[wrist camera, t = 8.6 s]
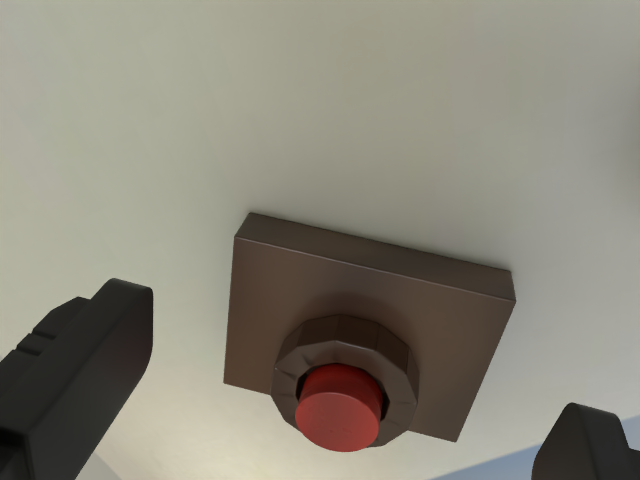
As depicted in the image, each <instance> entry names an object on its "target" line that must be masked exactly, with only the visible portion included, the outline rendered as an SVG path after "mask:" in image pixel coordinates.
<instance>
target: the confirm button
mask: <svg viewBox="0 0 640 480" xmlns="http://www.w3.org/2000/svg"><path fill="white" fill-rule="evenodd" d="M382 402H383V395H382V391H381V388H380V386H379V385H378V383H377V382H376V381H375V379H374V378H373V377H371V376H370V375H369V374H368V373H366V372H365V371H363V370H361V369H359V368H356V367H354V366H350V365H346V364H328V365H323V366H321V367H318V368H316V369H315V370H313V371H312V372H311V373H310V374H309V375H308V376H307V378H306V380H305V382H304V385H303V389H302V392H301V396H300V399H299V402H298V406H297V409H296V414H295V418H296V423H297V425H298V428H299V429H300V431H301V432H302V434H303V435H304V436H305V437H306V438H307V439H309V440H310V441H311V442H313V443H314V444H316V445H318V446H320V447H323V448H325V449H328V450H332V451H338V452H353V451H358V450H361V449H363V448H366V447H367V446H369V445H370V444H371V443H372V442H373V441H374V440H375V439H376V437H377V435H378V432H379V426H380V418H381V410H382Z"/></svg>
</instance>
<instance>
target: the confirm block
mask: <svg viewBox="0 0 640 480" xmlns="http://www.w3.org/2000/svg"><path fill="white" fill-rule="evenodd" d="M515 304H516V297H515V291H514V285H513V280H512V274H511V272H508V271H504V270H500V269H495V268H491V267H486V266H482V265H478V264H473V263H469V262H464V261H460V260H456V259H451V258H447V257H442V256H438V255H434V254H429V253H425V252H420V251H416V250H412V249H407V248H403V247H398V246H394V245H390V244H385V243H381V242H376V241H372V240H368V239H363V238H359V237H355V236H350V235H346V234H341V233H337V232H333V231H328V230H324V229H319V228H315V227H311V226H306V225H302V224H297V223H293V222H289V221H284V220H280V219H275V218H271V217H267V216H262V215H258V214H253V213H249V214H248V216H247V217H246V219H245V220H244V222H243V223H242V225H241V227H240V228H239V230H238V231H237V233H236V234H235V236H234V246H233V260H232V273H231V286H230V300H229V313H228V326H227V340H226V353H225V366H224V379H223V383H224V384H228V385H232V386H236V387H240V388H244V389H248V390H252V391H256V392H260V393H264V394H267V395H271V397H272V399H273V401H274V402H275V404H276V406H277V408H278V410H279V412H280V413H281V415H282V417H283V419H284V420H285V421H286V422H287V423H289V424H290V425H291V426H293V427H294V428H296V429H297V430H299V431H300V429H299V428H298V425H297V423H296V418H295V414H296V409H297V406H298V402H299V399H300V396H301V392H302V389H303V385H304V382H305V380H306V378H307V376H308V375H309V374H310V373H311V372H312V371H313V370H315V369H316V368H318V367H321V366H323V365H328V364H346V365H350V366H354V367H356V368H359V369H361V370H363V371H365V372H366V373H368V374H369V375H370V376H371V377H373V378H374V379H375V381H376V382H377V383H378V385H379V386H380V388H381V391H382V395H383V402H382V410H381V418H380V426H379V432H378V435H377V437H376V439H375V440H374V441H373V442H372V443H371V444H370V445H369V446H367V447H366V448H368V447H377V446H382V445H385V444H387V443H388V442H390V441H391V440H393V439H395V438H396V437H398V436H399V435H401V434H402V433H404V432H406V431H407V430H408V431H412V432H416V433H420V434H424V435H428V436H432V437H436V438H440V439H444V440H448V441H451V442H457V440H458V437H459V435H460V432H461V430H462V428H463V425H464V423H465V421H466V418H467V416H468V414H469V411H470V409H471V407H472V404H473V402H474V400H475V397H476V395H477V393H478V390H479V388H480V386H481V383H482V381H483V379H484V376H485V374H486V372H487V369H488V367H489V365H490V362H491V360H492V358H493V355H494V353H495V351H496V348H497V346H498V344H499V341H500V339H501V336H502V334H503V332H504V329H505V327H506V325H507V322H508V320H509V318H510V315H511V313H512V311H513V308H514V306H515ZM300 432H301V431H300ZM301 433H302V432H301Z"/></svg>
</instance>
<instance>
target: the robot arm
mask: <svg viewBox="0 0 640 480" xmlns="http://www.w3.org/2000/svg"><path fill="white" fill-rule="evenodd" d="M152 347H153V291H152V289H151V288H149V287H146V286H142V285H139V284H135V283H131V282H127V281H124V280H120V279H116V278H112V279H110V280H108V281H107V282H106V283H105V284H104V285H103V286H102V287H101V289H100V290H99V291H98V292H97V293H96V294H95V295H94V296H93V297H92V298H91V300H90V299H86V298H82V297H79V296H78V297H76V298H74V299H72V300H70V301H68V302H66V303H64V304H62V305H61V306H59V307H57V308H55V309H53V310H51V311H50V312H49V313H48V314H47V315H46V316H45V317H44V318H43V319H42V320H41V321H40V322H39V323H38V324H37V325H36V326H35V327H34V328H33V331H32V333H31V334H30V333H29V334H28V335H27V336H26V337H25V338H24V339H23V340H22V341H21V342H20V343H19V344H18V345H17V348H16V349H15V350H12V351H11V352H10V353H9V354H8V355H7V356H6V357H5V358H4V359H3V360H2V361H1V362H0V480H75V479H76V477H77V476H78V474H79V473H80V471H81V469H82V468H83V466H84V465H85V463H86V462H87V460H88V459H89V457H90V456H91V454H92V453H93V451H94V450H95V448H96V447H97V445H98V444H99V442H100V440H101V439H102V437H103V436H104V434H105V433H106V431H107V430H108V428H109V427H110V425H111V424H112V422H113V421H114V419H115V418H116V416H117V415H118V413H119V411H120V410H121V408H122V407H123V405H124V404H125V402H126V401H127V399H128V398H129V396H130V395H131V393H132V392H133V390H134V389H135V387H136V386H137V384H138V382H139V381H140V379H141V378H142V376H143V375H144V373H145V371H146V368H147V366H148V363H149V360H150V357H151V353H152ZM531 480H640V451H638V450H634V449H630V448H629V446H628V443H627V440H626V437H625V434H624V431H623V428H622V425H621V422H620V420H619V418H618V417H617V416H616V415H615V414H614V413H610V412H606V411H603V410H599V409H595V408H592V407H588V406H584V405H580V404H577V403H569V404H567V406H566V407H565V408H564V409H563V411H562V413H561V414H560V416H559V418H558V419H557V421H556V423H555V424H554V426H553V428H552V429H551V431H550V433H549V434H548V436H547V438H546V439H545V441H544V443H543V444H542V446H541V448H540V450H539V451H538V453H537V455H536V458H535V461H534V464H533V469H532V478H531Z"/></svg>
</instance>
